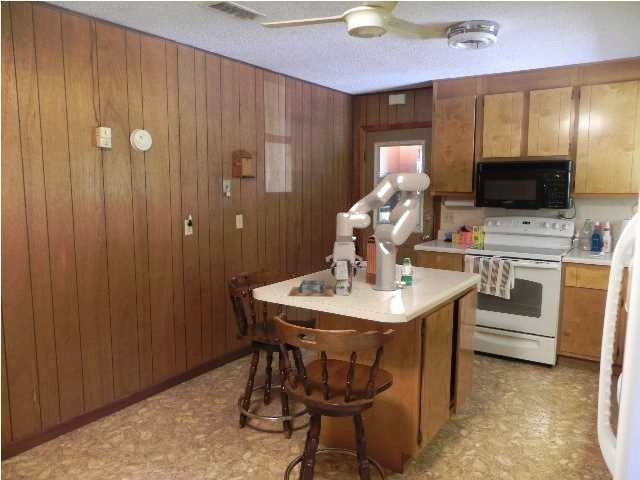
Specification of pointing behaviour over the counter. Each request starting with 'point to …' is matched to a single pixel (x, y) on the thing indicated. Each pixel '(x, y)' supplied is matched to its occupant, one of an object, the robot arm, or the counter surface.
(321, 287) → the dock
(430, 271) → the counter surface
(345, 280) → the coffee box
